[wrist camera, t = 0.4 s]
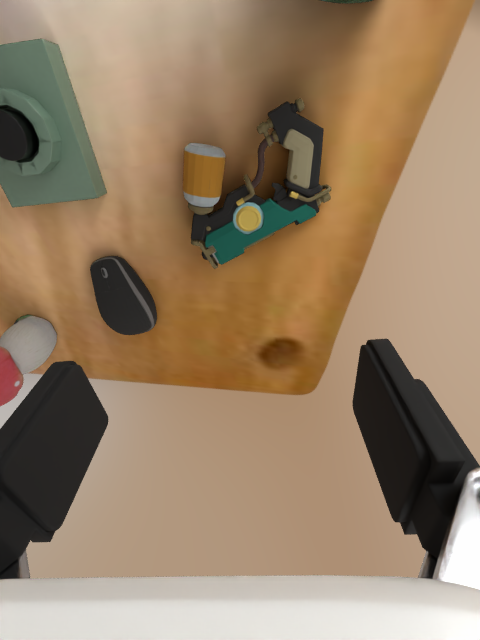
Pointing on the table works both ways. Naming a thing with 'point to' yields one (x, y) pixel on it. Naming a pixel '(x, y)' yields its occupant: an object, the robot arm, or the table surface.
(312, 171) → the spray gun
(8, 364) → the decorative ornament
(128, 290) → the computer mouse
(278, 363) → the table surface
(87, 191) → the green push button panel
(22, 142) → the button
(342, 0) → the coffee jar
